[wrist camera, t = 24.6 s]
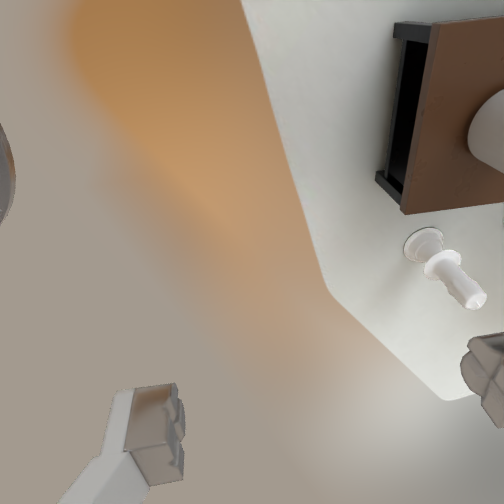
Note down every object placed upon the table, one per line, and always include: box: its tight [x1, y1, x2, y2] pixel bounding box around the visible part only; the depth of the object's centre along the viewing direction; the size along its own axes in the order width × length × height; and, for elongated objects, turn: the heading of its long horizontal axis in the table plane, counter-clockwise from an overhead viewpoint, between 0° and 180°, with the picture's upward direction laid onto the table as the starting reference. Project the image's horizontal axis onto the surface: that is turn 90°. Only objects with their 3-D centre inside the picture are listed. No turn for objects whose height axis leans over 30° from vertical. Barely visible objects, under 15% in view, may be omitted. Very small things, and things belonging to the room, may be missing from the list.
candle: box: [404, 228, 487, 310], centre depth 43 cm, size 5×5×12 cm
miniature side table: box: [375, 15, 504, 215], centre depth 33 cm, size 14×16×10 cm
